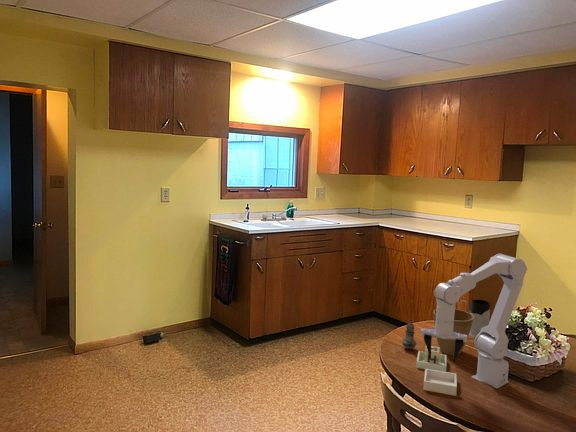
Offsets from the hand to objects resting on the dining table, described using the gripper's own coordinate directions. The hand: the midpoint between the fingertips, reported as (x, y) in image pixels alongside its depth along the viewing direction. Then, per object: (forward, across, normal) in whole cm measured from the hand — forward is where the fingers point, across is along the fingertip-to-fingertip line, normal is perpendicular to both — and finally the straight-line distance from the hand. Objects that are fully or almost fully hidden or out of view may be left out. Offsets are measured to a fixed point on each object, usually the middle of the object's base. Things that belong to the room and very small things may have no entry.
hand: (441, 359), depth 155 cm
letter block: (+9, -3, +15) cm, 18 cm away
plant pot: (+10, +4, +31) cm, 33 cm away
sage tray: (+9, -3, +15) cm, 18 cm away
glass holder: (+10, +13, +58) cm, 61 cm away
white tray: (+9, 0, 0) cm, 9 cm away
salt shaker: (+10, -12, +27) cm, 31 cm away
